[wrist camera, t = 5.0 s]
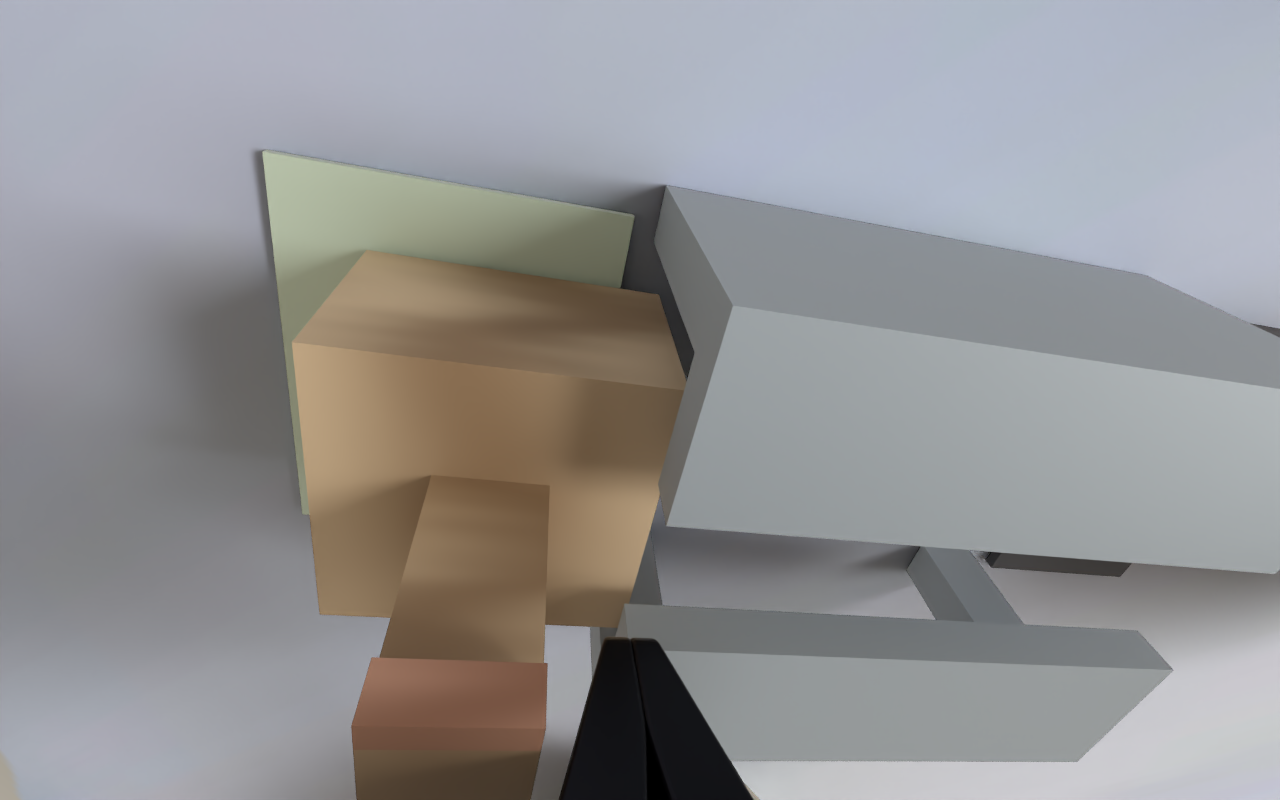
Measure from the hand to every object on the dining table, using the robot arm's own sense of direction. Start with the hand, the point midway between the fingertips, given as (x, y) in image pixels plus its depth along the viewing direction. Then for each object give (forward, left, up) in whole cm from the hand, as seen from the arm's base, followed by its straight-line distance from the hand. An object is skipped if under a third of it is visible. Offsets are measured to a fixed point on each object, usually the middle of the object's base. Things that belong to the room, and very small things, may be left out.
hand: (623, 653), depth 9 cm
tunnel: (-5, -5, -7) cm, 10 cm away
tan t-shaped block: (+2, +2, -7) cm, 8 cm away
